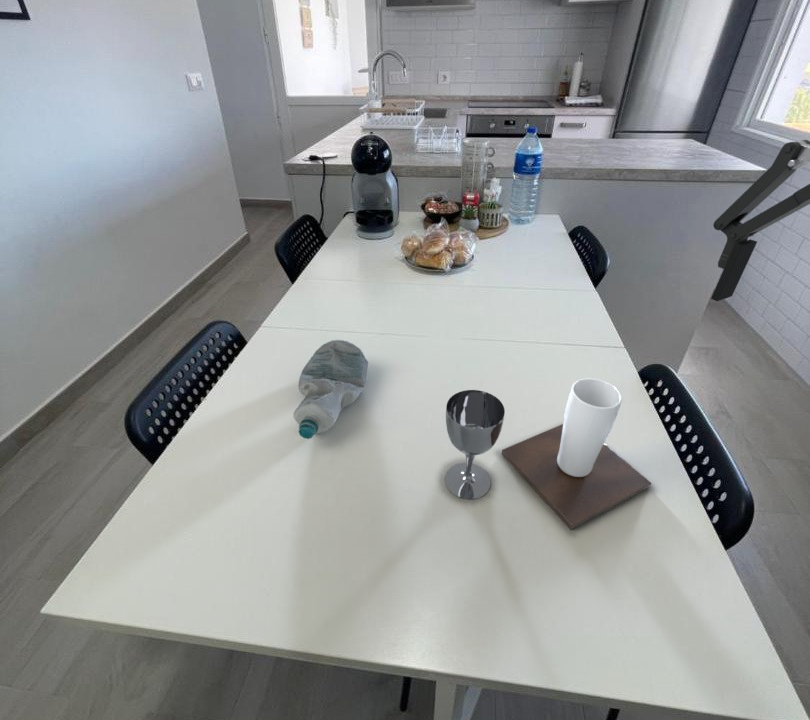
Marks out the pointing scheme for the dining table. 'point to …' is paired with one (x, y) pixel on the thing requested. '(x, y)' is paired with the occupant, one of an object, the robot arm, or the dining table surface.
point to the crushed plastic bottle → (329, 385)
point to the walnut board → (574, 478)
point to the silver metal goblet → (472, 439)
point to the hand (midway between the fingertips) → (784, 324)
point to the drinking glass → (587, 424)
